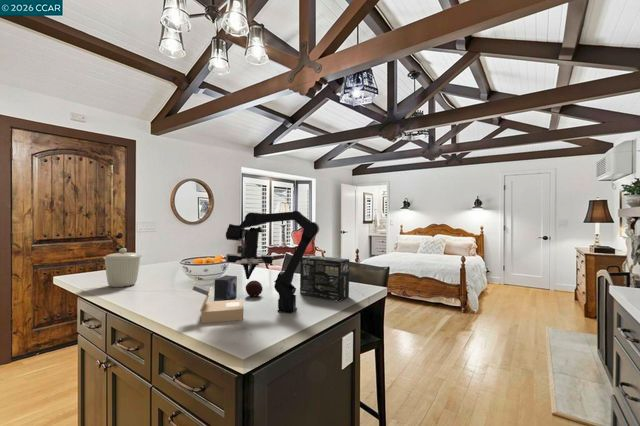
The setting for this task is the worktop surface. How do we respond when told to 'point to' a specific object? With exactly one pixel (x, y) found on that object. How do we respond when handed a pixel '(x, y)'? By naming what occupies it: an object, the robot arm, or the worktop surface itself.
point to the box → (324, 277)
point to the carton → (222, 311)
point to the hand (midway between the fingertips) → (247, 279)
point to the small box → (225, 288)
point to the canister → (122, 268)
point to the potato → (254, 288)
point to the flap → (202, 290)
